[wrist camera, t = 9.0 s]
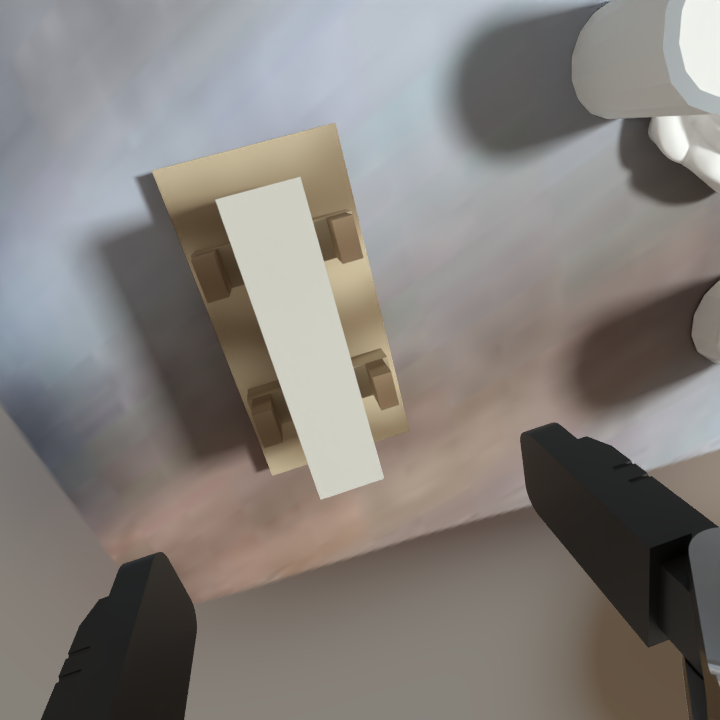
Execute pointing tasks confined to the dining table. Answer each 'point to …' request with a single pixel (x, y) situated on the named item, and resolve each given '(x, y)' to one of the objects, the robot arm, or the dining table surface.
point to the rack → (229, 294)
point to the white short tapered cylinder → (649, 59)
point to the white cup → (708, 325)
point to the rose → (691, 143)
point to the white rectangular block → (302, 331)
